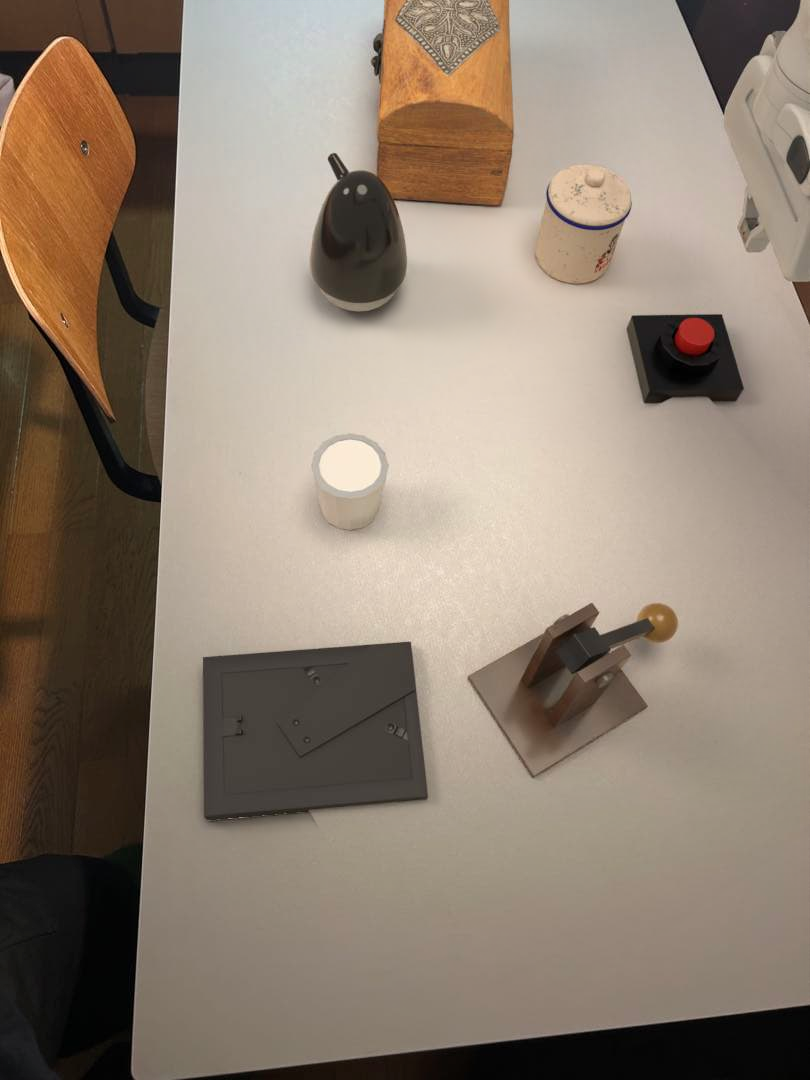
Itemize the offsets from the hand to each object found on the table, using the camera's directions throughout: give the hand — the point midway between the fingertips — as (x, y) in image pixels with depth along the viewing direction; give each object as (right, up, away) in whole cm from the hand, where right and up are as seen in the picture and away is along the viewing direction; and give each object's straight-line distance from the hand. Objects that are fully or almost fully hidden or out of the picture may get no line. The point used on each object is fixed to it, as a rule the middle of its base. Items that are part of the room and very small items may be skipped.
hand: (749, 240), depth 82 cm
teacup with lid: (-11, +7, +24) cm, 28 cm away
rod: (-14, -35, -6) cm, 38 cm away
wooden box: (-27, +26, +34) cm, 50 cm away
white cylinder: (-36, -23, +7) cm, 43 cm away
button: (-1, -6, +14) cm, 15 cm away
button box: (-1, -8, +17) cm, 19 cm away
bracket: (-17, -40, -1) cm, 44 cm away
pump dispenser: (-36, +1, +20) cm, 41 cm away
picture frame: (-38, -43, -4) cm, 57 cm away
